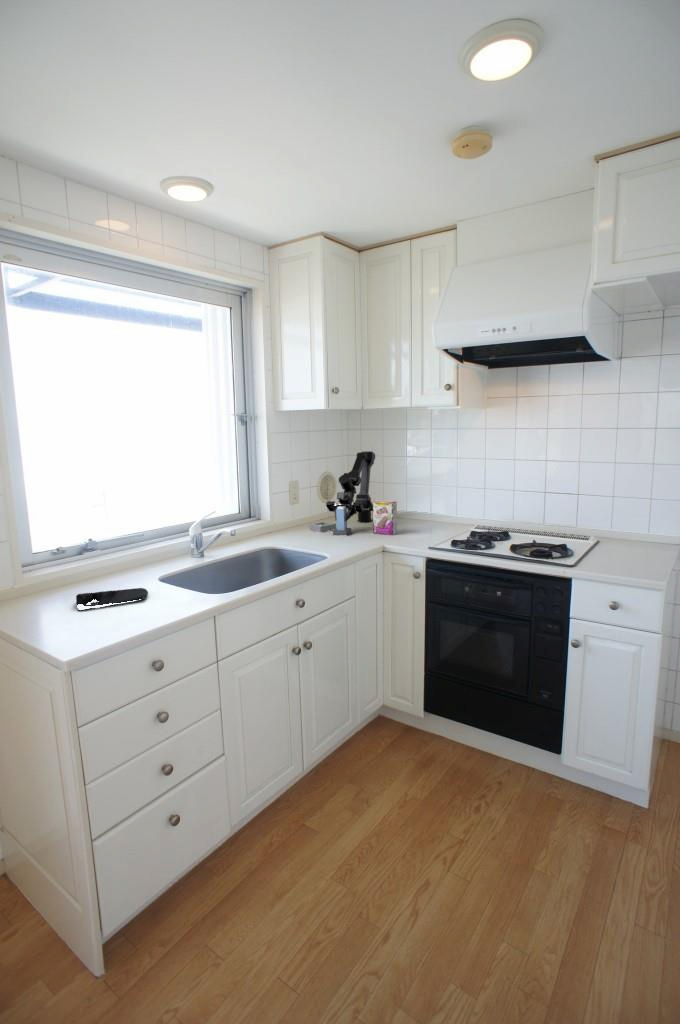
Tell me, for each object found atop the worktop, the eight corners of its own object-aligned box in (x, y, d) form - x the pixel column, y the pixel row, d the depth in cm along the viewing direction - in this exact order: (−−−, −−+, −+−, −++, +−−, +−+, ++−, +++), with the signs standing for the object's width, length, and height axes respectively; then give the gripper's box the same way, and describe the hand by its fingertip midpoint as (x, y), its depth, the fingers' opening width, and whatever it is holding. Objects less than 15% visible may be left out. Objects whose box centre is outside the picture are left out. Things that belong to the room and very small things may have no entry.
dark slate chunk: (147, 604, 175) (146, 590, 174) (73, 614, 168) (71, 599, 167) (148, 590, 189) (147, 577, 188) (80, 598, 182) (79, 585, 182)
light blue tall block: (340, 532, 271) (339, 506, 268) (347, 533, 269) (346, 506, 267) (337, 534, 267) (336, 507, 264) (344, 535, 265) (343, 507, 263)
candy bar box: (372, 533, 267) (372, 501, 264) (377, 531, 271) (376, 499, 268) (393, 535, 261) (392, 502, 258) (397, 533, 265) (397, 500, 262)
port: (324, 526, 287) (324, 520, 287) (336, 529, 279) (335, 522, 279) (309, 529, 281) (309, 523, 281) (320, 532, 273) (320, 525, 273)
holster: (338, 532, 273) (338, 527, 272) (351, 532, 270) (351, 528, 269) (332, 535, 266) (332, 530, 266) (346, 535, 263) (346, 530, 263)
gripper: (326, 485, 271) (318, 510, 263) (361, 486, 264) (353, 512, 256) (333, 498, 279) (325, 523, 271) (367, 499, 272) (360, 524, 264)
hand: (340, 520), depth 265 cm, fingers open, 5 cm apart
